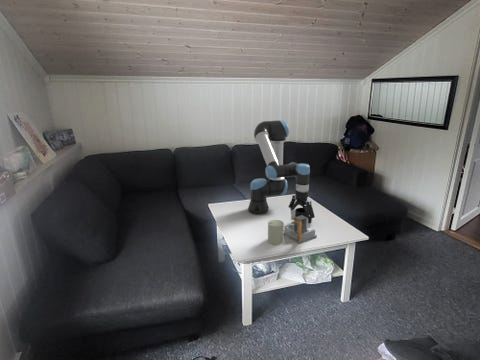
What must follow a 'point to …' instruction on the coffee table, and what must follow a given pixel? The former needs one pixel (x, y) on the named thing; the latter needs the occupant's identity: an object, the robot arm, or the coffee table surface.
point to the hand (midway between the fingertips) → (300, 223)
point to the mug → (300, 212)
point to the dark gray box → (304, 221)
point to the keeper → (298, 232)
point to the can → (275, 232)
